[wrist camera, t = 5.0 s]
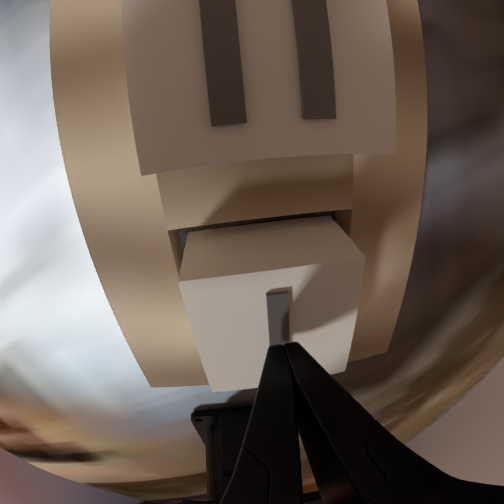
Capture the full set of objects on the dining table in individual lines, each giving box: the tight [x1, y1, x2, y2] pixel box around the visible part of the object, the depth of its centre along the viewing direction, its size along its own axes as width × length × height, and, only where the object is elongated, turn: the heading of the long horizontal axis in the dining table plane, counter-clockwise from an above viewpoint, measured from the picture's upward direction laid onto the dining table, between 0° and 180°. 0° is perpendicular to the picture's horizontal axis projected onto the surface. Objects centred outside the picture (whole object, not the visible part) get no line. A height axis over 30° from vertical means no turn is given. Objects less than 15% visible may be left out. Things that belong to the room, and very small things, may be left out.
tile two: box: [122, 0, 396, 176], centre depth 5 cm, size 5×5×3 cm
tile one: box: [178, 215, 366, 392], centre depth 10 cm, size 5×5×3 cm
